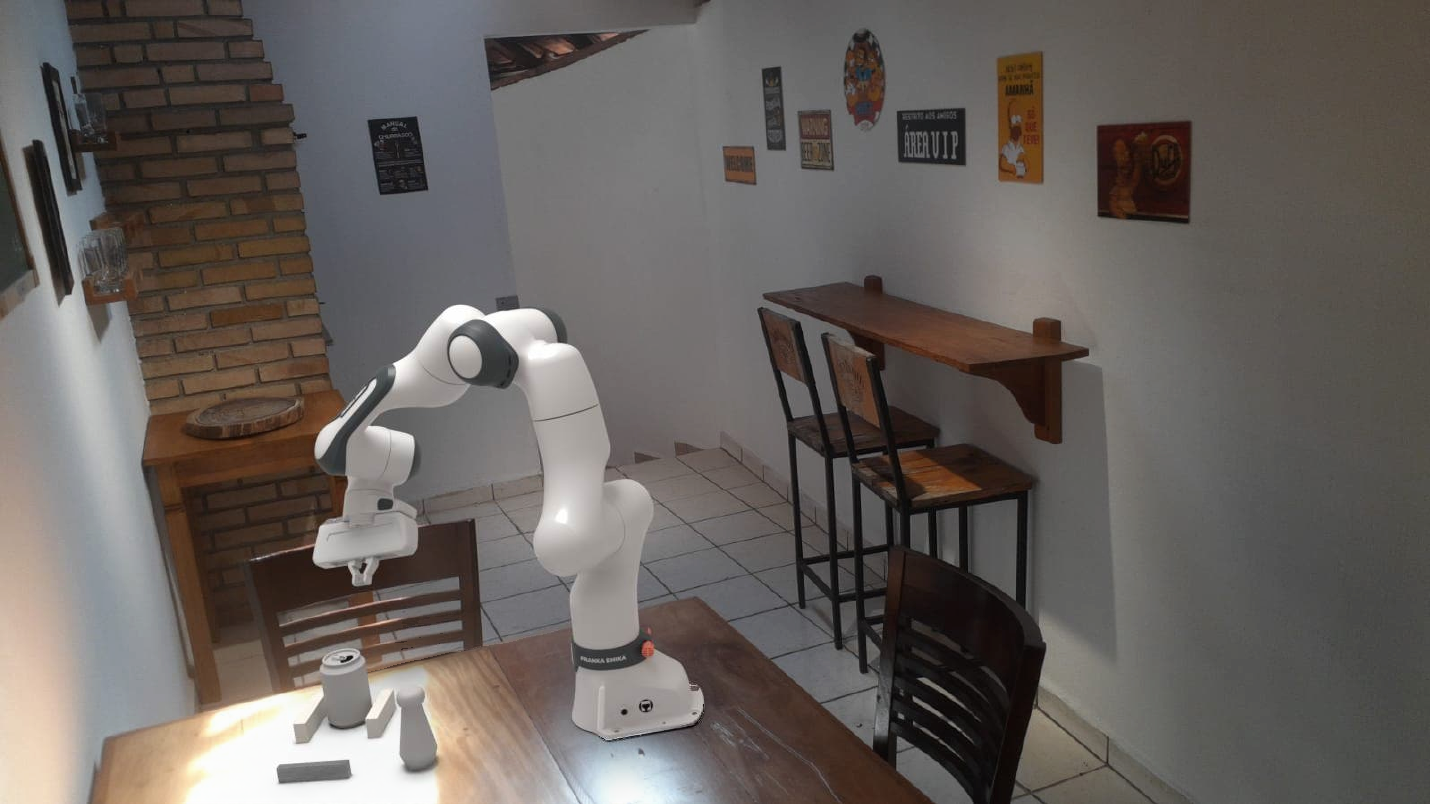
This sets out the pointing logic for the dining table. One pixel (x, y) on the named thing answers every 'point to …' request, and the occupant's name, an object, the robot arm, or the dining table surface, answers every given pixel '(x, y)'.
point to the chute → (317, 712)
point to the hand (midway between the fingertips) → (361, 584)
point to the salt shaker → (415, 729)
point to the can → (345, 687)
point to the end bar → (313, 771)
